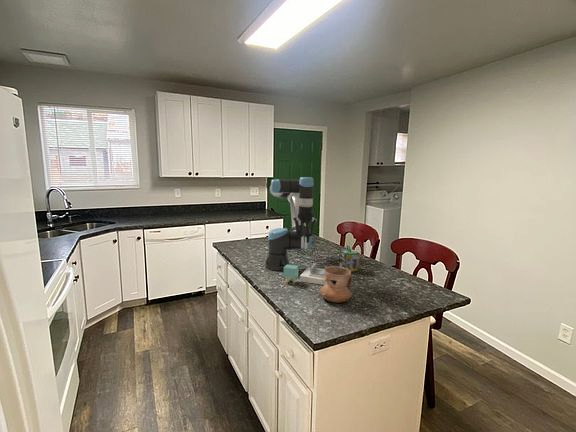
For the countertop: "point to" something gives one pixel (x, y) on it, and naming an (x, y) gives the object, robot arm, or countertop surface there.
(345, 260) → the chalk box
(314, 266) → the clear glass piece
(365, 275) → the countertop surface
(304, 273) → the socket
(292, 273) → the teal block figurine
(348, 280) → the ceramic jug
